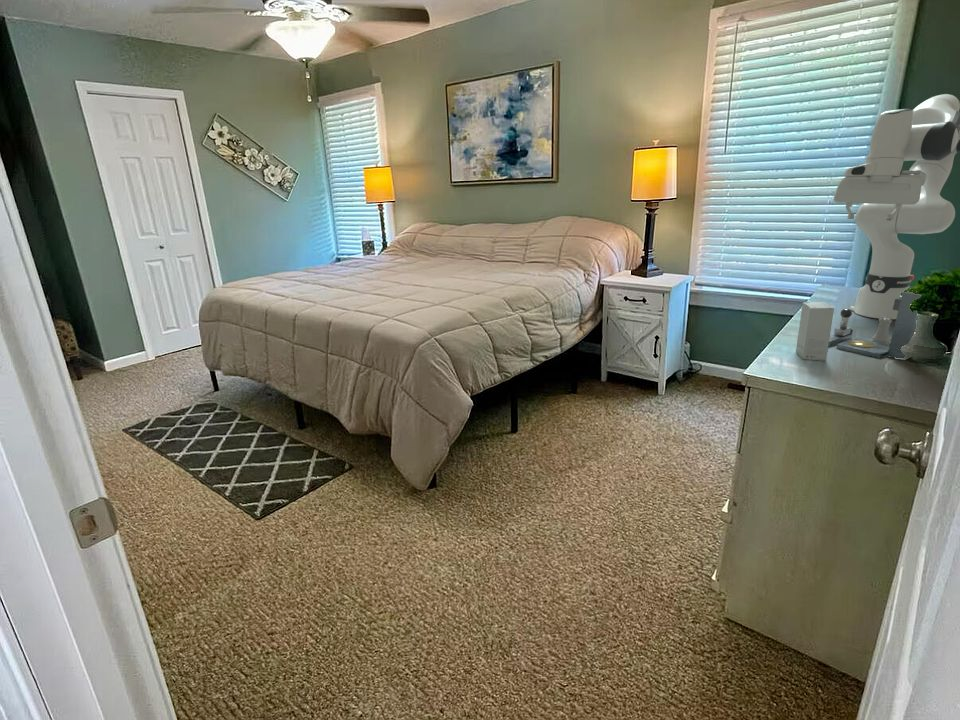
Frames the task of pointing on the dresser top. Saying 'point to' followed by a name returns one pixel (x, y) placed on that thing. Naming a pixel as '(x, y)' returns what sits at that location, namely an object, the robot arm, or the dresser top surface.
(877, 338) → the rook chess piece
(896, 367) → the dresser top surface
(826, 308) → the skincare box
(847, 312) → the lever
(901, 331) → the press
